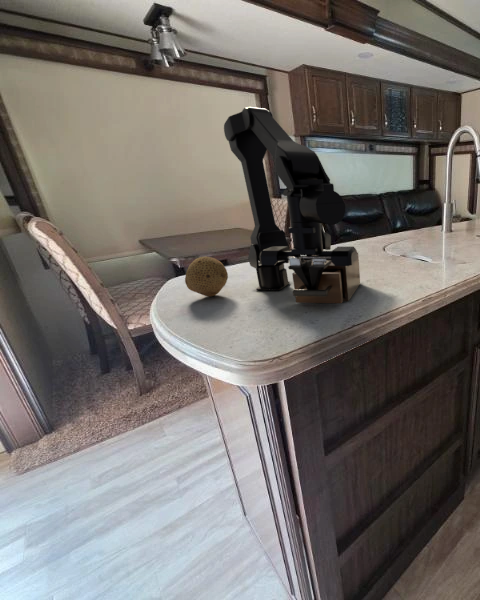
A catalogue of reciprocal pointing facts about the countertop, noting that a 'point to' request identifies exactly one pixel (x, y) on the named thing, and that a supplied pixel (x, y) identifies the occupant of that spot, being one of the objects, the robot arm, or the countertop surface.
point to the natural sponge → (206, 276)
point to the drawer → (321, 288)
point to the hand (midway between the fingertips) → (314, 295)
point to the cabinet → (348, 277)
